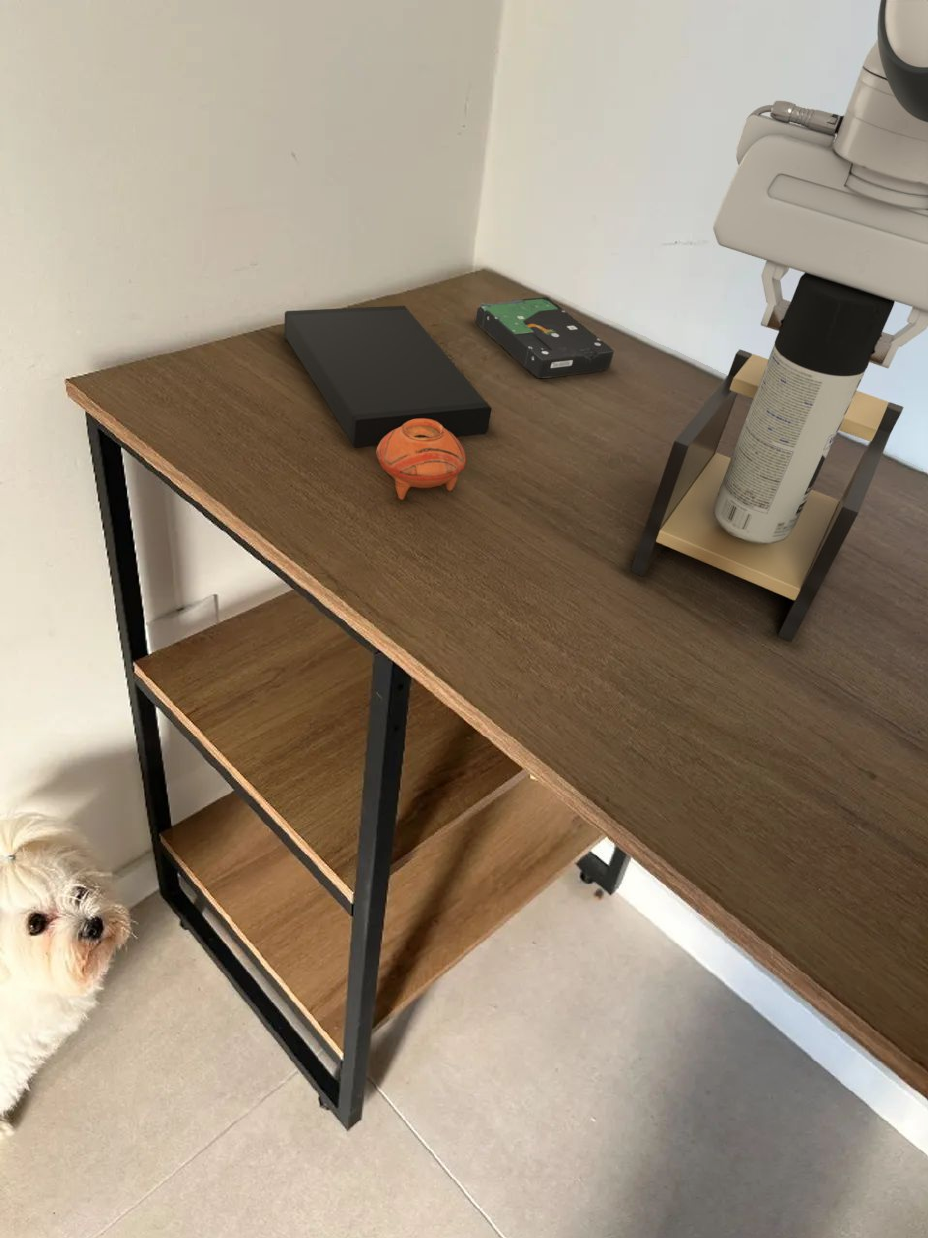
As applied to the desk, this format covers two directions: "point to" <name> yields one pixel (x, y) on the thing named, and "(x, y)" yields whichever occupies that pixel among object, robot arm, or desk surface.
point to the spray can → (799, 407)
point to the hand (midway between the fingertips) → (825, 344)
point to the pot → (421, 456)
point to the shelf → (697, 479)
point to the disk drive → (544, 337)
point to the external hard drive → (383, 372)
